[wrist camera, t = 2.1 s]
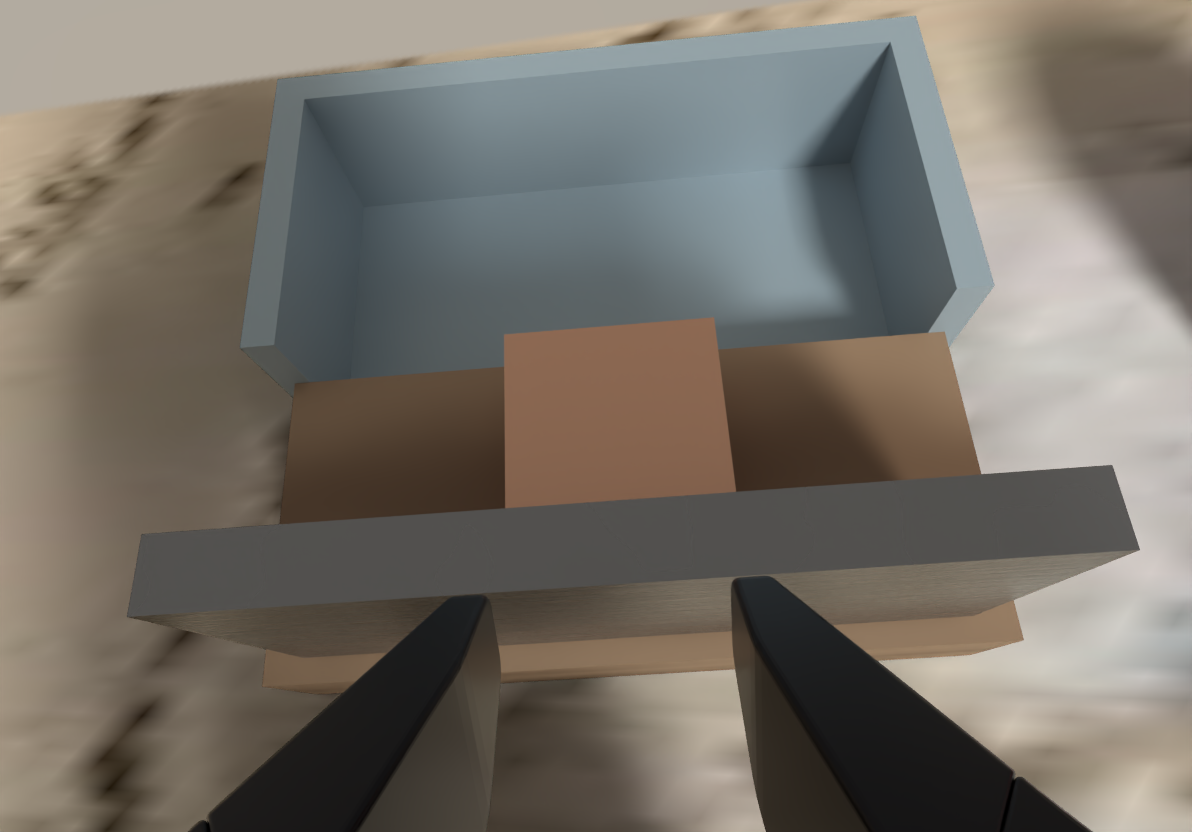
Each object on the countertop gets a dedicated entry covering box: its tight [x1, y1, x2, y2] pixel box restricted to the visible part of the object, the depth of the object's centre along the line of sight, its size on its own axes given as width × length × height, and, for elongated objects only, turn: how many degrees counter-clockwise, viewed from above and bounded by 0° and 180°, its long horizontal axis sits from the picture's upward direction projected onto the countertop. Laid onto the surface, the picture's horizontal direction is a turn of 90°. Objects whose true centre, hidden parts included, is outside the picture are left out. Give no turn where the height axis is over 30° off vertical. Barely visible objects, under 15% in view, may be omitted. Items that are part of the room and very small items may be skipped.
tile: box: [504, 317, 736, 508], centre depth 17 cm, size 4×4×2 cm
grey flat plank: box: [127, 465, 1140, 658], centre depth 14 cm, size 1×14×6 cm, turn 94°
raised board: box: [262, 332, 1024, 694], centre depth 19 cm, size 7×16×3 cm, turn 93°
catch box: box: [240, 16, 995, 397], centre depth 21 cm, size 8×17×5 cm, turn 93°
